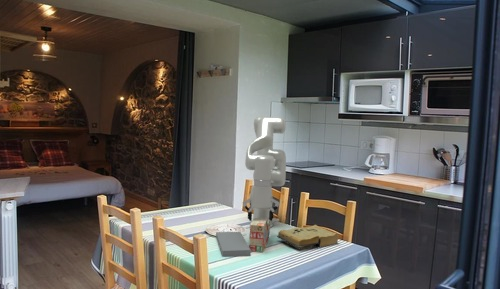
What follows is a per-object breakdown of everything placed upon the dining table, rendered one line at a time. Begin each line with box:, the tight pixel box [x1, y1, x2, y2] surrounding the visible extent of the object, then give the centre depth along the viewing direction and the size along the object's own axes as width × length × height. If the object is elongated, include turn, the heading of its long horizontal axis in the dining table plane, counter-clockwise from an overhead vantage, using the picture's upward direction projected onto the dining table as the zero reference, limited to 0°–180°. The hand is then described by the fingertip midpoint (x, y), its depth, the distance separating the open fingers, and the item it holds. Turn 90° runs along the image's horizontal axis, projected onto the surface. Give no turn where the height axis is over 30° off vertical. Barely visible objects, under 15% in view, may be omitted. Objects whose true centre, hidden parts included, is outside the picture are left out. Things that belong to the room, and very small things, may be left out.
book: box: [276, 224, 339, 250], centre depth 183 cm, size 25×17×6 cm
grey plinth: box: [215, 231, 252, 258], centre depth 174 cm, size 12×26×2 cm, turn 11°
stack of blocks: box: [248, 218, 271, 253], centre depth 177 cm, size 21×6×12 cm, turn 169°
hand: (260, 220), depth 176 cm, fingers open, 9 cm apart
